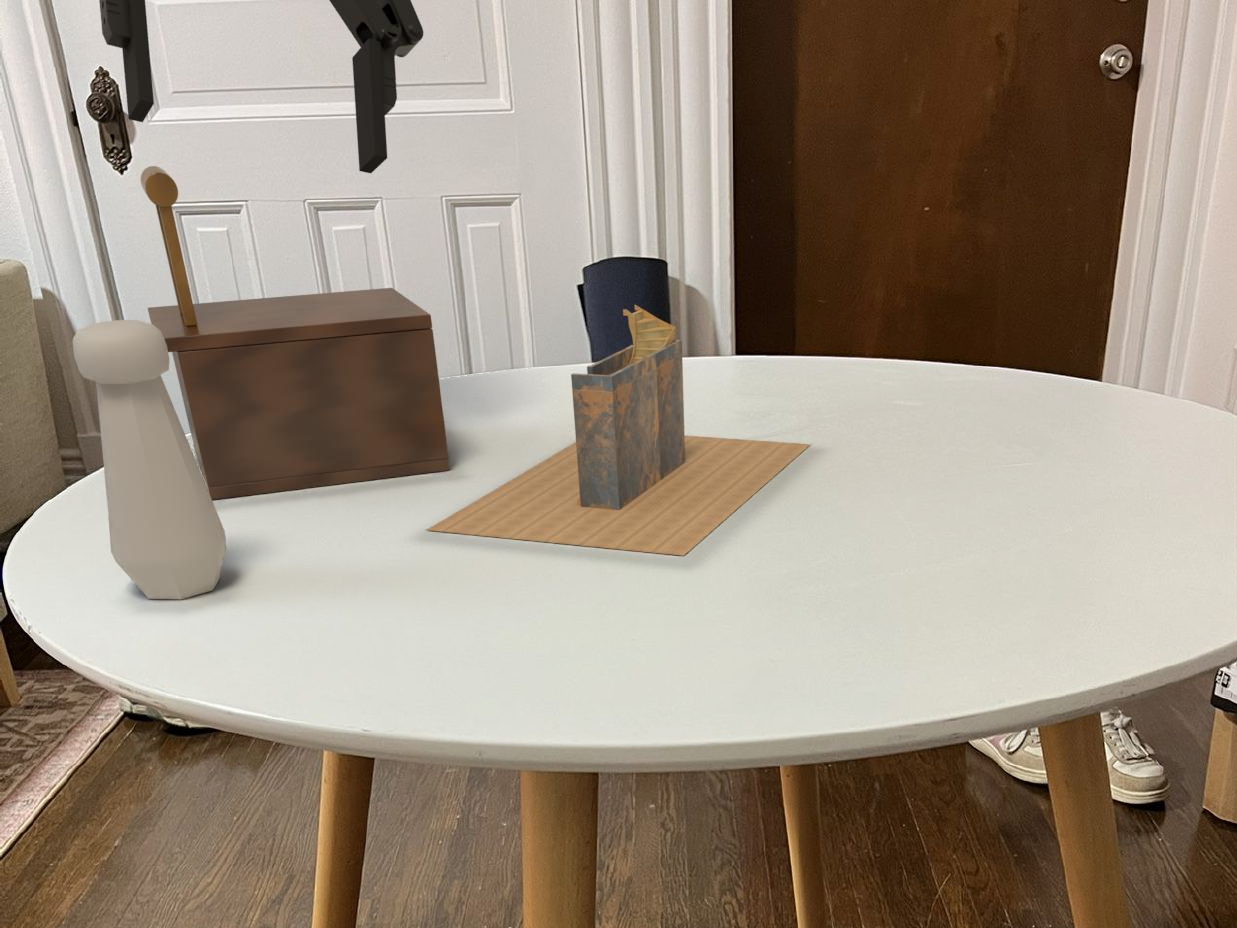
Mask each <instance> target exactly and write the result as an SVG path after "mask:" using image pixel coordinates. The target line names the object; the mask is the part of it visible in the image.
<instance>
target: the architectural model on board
mask: <svg viewBox="0 0 1237 928" xmlns="http://www.w3.org/2000/svg"><path fill="white" fill-rule="evenodd" d="M622 315H623V316H627V318H628V328H629V330H630V334H631V337H632V338H631V339H632V344H630V345H629V346H627V347H625V348H622V349H621V350H619V351H617V352H615V353H612V354H610V355H609V356H607V357H605V358H603V359H601V360H599V361H597V362H595V363H592V364H591V365H588V366H586V372H587V373H575V372H573V373H571V374H570V376H571V377H570V379H571V391H572V405H573V419H574V435H575V442H574V443H572V444H570V445H568V446H567V447H565V448H563V449H562V450H560V451H558V452H557V453H555V454H553V455H552V456H550V457H548V458H547V459H544V460H543V461H542V462H540V463H538V464H536V465H534V466H533V467H531V468H529V469H527V470H526V471H524V472H523V473H521V474H519V475H517V476H516V477H514V478H512V479H510V480H509V481H507V482H505V483H504V484H502V485H500V486H499V487H497V488H495V489H494V490H492V491H490V492H489V493H487V494H485V495H483V496H482V497H480V498H478V499H477V500H474V501H473V502H471V503H470V504H468V505H466V506H465V507H463V508H461V509H459V510H458V511H455V512H454V513H452V514H451V515H449V516H447V517H446V518H444V519H442V520H441V521H439V522H437V523H436V524H433V525H431V527H429V528H427V529H426V531H430V532H431V531H432V532H440V533H450V534H451V533H453V534H461V535H471V536H481V537H491V538H502V539H511V540H523V541H532V542H540V543H541V542H544V543H551V544H552V543H553V544H563V545H571V546H583V547H594V548H603V549H612V550H621V551H622V550H624V551H634V552H643V553H652V554H662V555H674V556H682V557H683V556H685V555H686V554H688V552H690V551H691V550H692V549H694V547H696V546H697V545H698V544H699V543H700V542H701V541H702V540H704V539H705V538H706V537H707V536H708V535H709V534H711V532H713V531H714V530H715V529H716V528H717V527H718V526H719V525H720V524H722V523H723V522H724V521H725V520H726V519H728V518H729V516H731V515H732V514H733V513H734V512H735V511H736V510H738V509H739V508H740V507H741V506H742V505H744V503H745V502H747V501H748V500H749V499H750V498H751V497H753V496H754V495H755V494H756V493H757V492H758V491H759V490H761V488H763V487H764V486H765V485H766V484H767V483H768V482H770V481H771V480H772V479H773V478H774V477H775V476H776V475H778V474H779V473H780V472H781V471H782V470H783V469H784V468H785V467H787V466H788V465H789V464H790V463H791V462H792V461H793V460H794V459H796V458H797V457H798V456H799V455H801V453H803V451H805V450H806V449H808V447H810V446H811V443H800V442H799V443H798V442H784V441H769V440H755V439H740V438H726V437H714V436H713V437H711V436H698V435H685V407H684V366H683V340H682V339H676V337H677V336H676V334H677V332H676V331H677V330H676V329H677V327H676V326H675V325H673V324H670V323H668V322H666V321H663V320H662V319H660V318H658V317H656V316H655V315H653V314H651V313H650V312H648V311H646V310H645V309H643V308H642V307H640V306H638V305H636V304H634V312H631V311H630V310H628V309H626V308H625V309H624V308H623V309H622Z"/></svg>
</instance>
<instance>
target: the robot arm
mask: <svg viewBox="0 0 1237 928" xmlns="http://www.w3.org/2000/svg"><path fill="white" fill-rule="evenodd" d="M98 2H99V11H100V22H101V34H102V36H103V38H104V41H105V43H106V45H107V46H111V47H115V48H119V49H122V50H121V51H122V59H123V60H122V61H123V70H124V71H123V72H124V83H125V94H126V105H127V115H128V117H127V118H128V120H129V121H135V122H139V123H144V121H145V119H146V118H147V116H148V114H149V113H150V111H151V109H152V107H153V106H154V104H155V101H154V100H155V99H154V89H153V87H154V86H153V77H152V65H151V54H150V53H151V52H150V44H149V42H150V41H149V31H148V30H149V29H148V19H147V10H146V9H147V8H146V7H147V6H146V0H99V1H98ZM329 2H330V4H331V5H332V7H333V8H334V10H335V12H337V14H338V15H339V17H340V19H341V20H342V22H343V23H344V25H345V26H346V28H347V30H348V31H349V32H350V33H351V35H352V36H353V38H354V40H355V41H356V43H357V44H358V45H359V47H360V48H358V50H357V51H356V53H354V55H353V56H352V58H351V59H352V61H351V62H352V76H353V90H354V91H353V92H354V93H353V94H354V106H355V121H356V122H355V123H356V139H357V154H358V170H359V172H363V173H367V174H372V173H374V172H375V170H376V169H377V168H379V167H380V166H381V165H382V164H383V163H384V162H385V161H386V160H387V159H388V146H387V130H386V129H387V127H386V116H387V114H388V113H389V112H390V111H392V109H393V108H394V107H395V106H396V103H397V99H398V93H397V76H396V73H397V72H396V60H395V57H398V58H405V57H406V56H408V54H410V52H411V51H412V50H414V48H415V47H416V46H417V45H418V43H419V42H420V41H422V39H423V37H424V29H423V25H422V23H421V21H420V19H419V17H418V15H417V11H416V9H415V7H414V5H413V2H412V0H329Z"/></svg>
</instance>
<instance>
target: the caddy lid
mask: <svg viewBox="0 0 1237 928" xmlns="http://www.w3.org/2000/svg"><path fill="white" fill-rule="evenodd" d="M140 185H141V187H142V189H143V191H144V193H145V195H146V196H147V198H148V199H149V201H150V202H151V203H152V204H153V205H155V209H156V214H157V218H158V224H159V227H160V232H161V237H162V240H163V241H162V242H163V246H164V250H165V254H166V259H167V262H168V267H169V271H170V276H171V280H172V284H173V285H172V286H173V289H174V293H175V298H176V299H175V300H176V303H177V304H176V305H175V304H174V305H164V306H152V307H151V306H150V307H147V312H148V316H149V320H150V324H153V325H154V326H155V327H157V328H158V329H159V330H160V331H161V332H162V335H163V337H164V340H165V342H166V344H167V349H168V353H172V352H177V351H188V350H199V349H210V348H221V347H231V346H242V345H253V344H264V343H275V342H286V341H297V340H308V339H319V338H329V337H340V336H351V335H362V334H373V333H384V332H395V331H406V330H417V329H427V328H431V329H433V322H432V315H431V314H430V313H429V312H427V310H424V309H423V308H422V307H420V306H419V305H417V304H416V303H414V302H413V301H412V300H410V299H408V297H406V296H404V295H403V294H402V293H400V292H399V291H398V290H396V289H395V288H393V287H385V288H372V289H370V288H369V289H361V290H359V289H358V290H348V291H347V290H346V291H335V292H323V293H321V292H320V293H311V294H299V295H285V296H274V297H262V298H251V299H250V298H249V299H248V298H247V299H237V300H224V301H212V302H199V303H194V302H193V299H192V293H191V288H190V285H189V280H188V275H187V271H186V267H185V266H186V265H185V261H184V257H183V252H182V247H181V243H180V239H179V236H178V229H177V225H176V221H175V215H174V212H173V207H172V206H173V205H174V204H176V202H177V201H178V198H179V189H178V185H177V184H176V182H175V180H174V179H173V178H172V177H171V175H170V174H169V173H168V172H167V171H166V170H165V169H163V168H162V167H160V166H157V165H151V166H147V167H146V168H144V169H143V170H142V173H141V175H140Z"/></svg>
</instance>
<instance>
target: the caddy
mask: <svg viewBox="0 0 1237 928" xmlns="http://www.w3.org/2000/svg"><path fill="white" fill-rule="evenodd" d="M435 344H436V343H435V338H434V330H433V328H427V329H417V330H406V331H395V332H384V333H373V334H362V335H351V336H340V337H329V338H319V339H308V340H297V341H286V342H275V343H264V344H253V345H242V346H231V347H221V348H210V349H199V350H188V351H177V352H171V355H172V358H173V362H174V366H175V371H176V376H177V379H178V384H179V389H180V392H181V397H182V401H183V406H184V410H185V415H186V418H187V422H188V423H187V424H188V426H189V431H190V436H191V440H192V444H193V449H194V453H195V457H196V460H197V462H198V466H199V469H200V472H201V475H202V477H203V480H204V482H205V484H206V487H207V489H208V492H209V494H210V497H211V499H212V501H214V500H221V499H229V498H230V499H231V498H237V497H245V496H246V497H247V496H253V495H262V494H269V493H270V494H271V493H278V492H284V491H294V490H302V489H303V490H304V489H309V488H318V487H327V486H334V485H342V484H343V485H344V484H349V483H350V484H351V483H357V482H366V481H373V480H382V479H389V478H390V479H391V478H398V477H406V476H412V475H413V476H414V475H420V474H421V475H423V474H430V473H437V472H445V471H446V472H447V471H450V470H451V466H450V457H449V448H448V441H447V432H446V426H445V425H446V424H445V416H444V409H443V401H442V392H441V385H440V378H439V377H440V375H439V370H438V369H439V368H438V361H437V353H436V346H435Z"/></svg>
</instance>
